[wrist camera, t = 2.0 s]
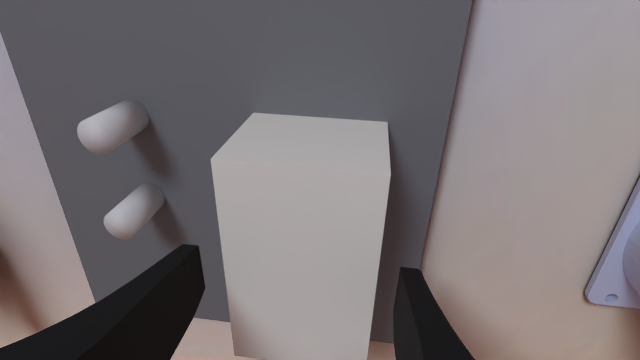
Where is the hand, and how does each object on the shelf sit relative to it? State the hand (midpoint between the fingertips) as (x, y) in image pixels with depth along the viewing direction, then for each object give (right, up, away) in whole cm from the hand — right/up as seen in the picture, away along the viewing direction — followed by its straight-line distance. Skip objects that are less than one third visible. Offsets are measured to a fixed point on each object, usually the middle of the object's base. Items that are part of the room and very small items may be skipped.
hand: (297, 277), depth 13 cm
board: (-3, +4, +5) cm, 7 cm away
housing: (+1, +2, +4) cm, 4 cm away
